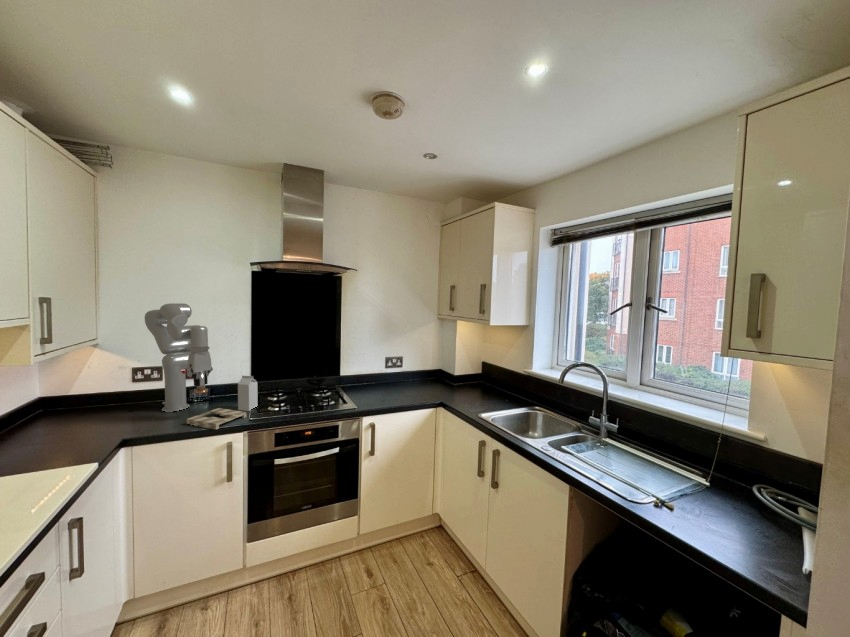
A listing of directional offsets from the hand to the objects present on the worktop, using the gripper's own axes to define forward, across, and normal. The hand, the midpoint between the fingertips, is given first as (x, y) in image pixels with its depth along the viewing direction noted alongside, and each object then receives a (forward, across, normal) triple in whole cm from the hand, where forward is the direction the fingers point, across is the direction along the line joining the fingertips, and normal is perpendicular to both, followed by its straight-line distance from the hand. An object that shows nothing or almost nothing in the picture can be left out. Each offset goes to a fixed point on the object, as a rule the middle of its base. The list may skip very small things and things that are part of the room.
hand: (200, 384), depth 175 cm
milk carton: (+18, -20, +10) cm, 29 cm away
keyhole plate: (+18, 0, +10) cm, 21 cm away
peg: (+4, 0, 0) cm, 4 cm away
